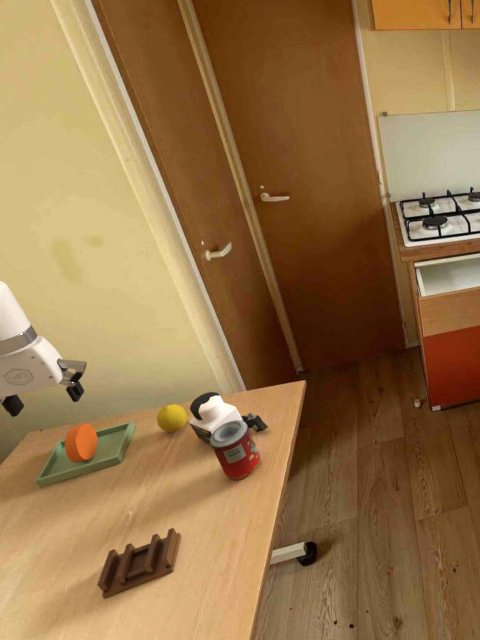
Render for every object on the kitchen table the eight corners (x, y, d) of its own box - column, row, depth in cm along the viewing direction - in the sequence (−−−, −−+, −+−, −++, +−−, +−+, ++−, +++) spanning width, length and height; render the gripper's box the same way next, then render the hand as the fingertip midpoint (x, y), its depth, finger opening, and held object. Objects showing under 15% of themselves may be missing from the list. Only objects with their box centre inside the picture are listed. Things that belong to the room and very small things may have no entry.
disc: (79, 469, 95) (60, 450, 91) (90, 439, 101) (72, 419, 96) (91, 466, 96) (72, 447, 91) (101, 436, 102) (83, 416, 97)
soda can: (266, 466, 96) (251, 429, 90) (232, 488, 91) (213, 451, 86) (255, 448, 100) (239, 412, 95) (222, 468, 96) (203, 431, 90)
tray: (39, 487, 92) (34, 481, 91) (62, 447, 101) (57, 441, 100) (121, 462, 97) (117, 456, 96) (135, 426, 106) (132, 420, 105)
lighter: (246, 436, 106) (233, 421, 105) (253, 430, 108) (240, 415, 107) (261, 432, 102) (247, 416, 101) (268, 426, 104) (255, 410, 103)
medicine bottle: (199, 440, 102) (178, 407, 96) (226, 417, 108) (207, 384, 102) (220, 449, 100) (200, 416, 94) (246, 425, 106) (228, 392, 100)
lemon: (158, 436, 103) (145, 413, 100) (179, 418, 108) (167, 396, 104) (176, 441, 102) (164, 417, 98) (197, 423, 107) (185, 400, 103)
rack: (104, 598, 74) (95, 588, 72) (117, 558, 79) (109, 548, 78) (173, 571, 77) (166, 561, 76) (181, 535, 83) (174, 524, 81)
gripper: (-69, 364, 76) (-18, 431, 84) (57, 339, 83) (94, 404, 90) (-43, 340, 82) (3, 405, 90) (73, 319, 89) (107, 381, 96)
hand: (49, 404), depth 90 cm, fingers open, 9 cm apart
